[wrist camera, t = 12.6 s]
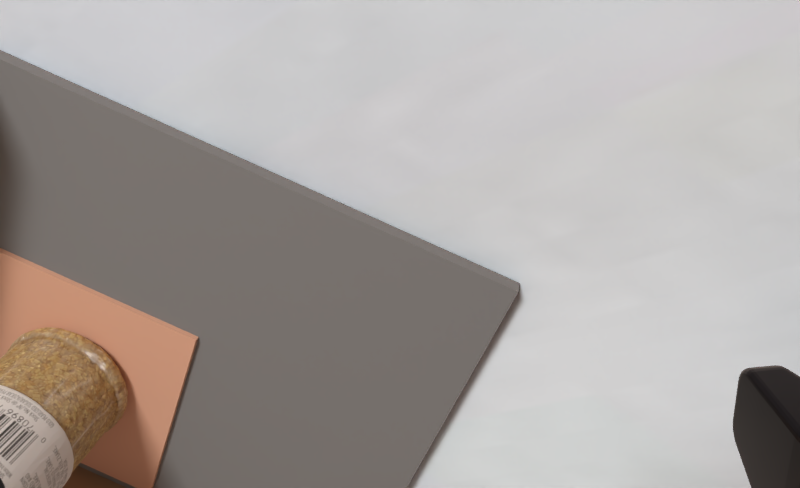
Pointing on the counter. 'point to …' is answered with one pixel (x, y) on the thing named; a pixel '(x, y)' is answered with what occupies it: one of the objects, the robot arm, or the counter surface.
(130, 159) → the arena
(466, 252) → the counter surface
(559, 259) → the counter surface
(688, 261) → the counter surface
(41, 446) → the sprinkles bottle
